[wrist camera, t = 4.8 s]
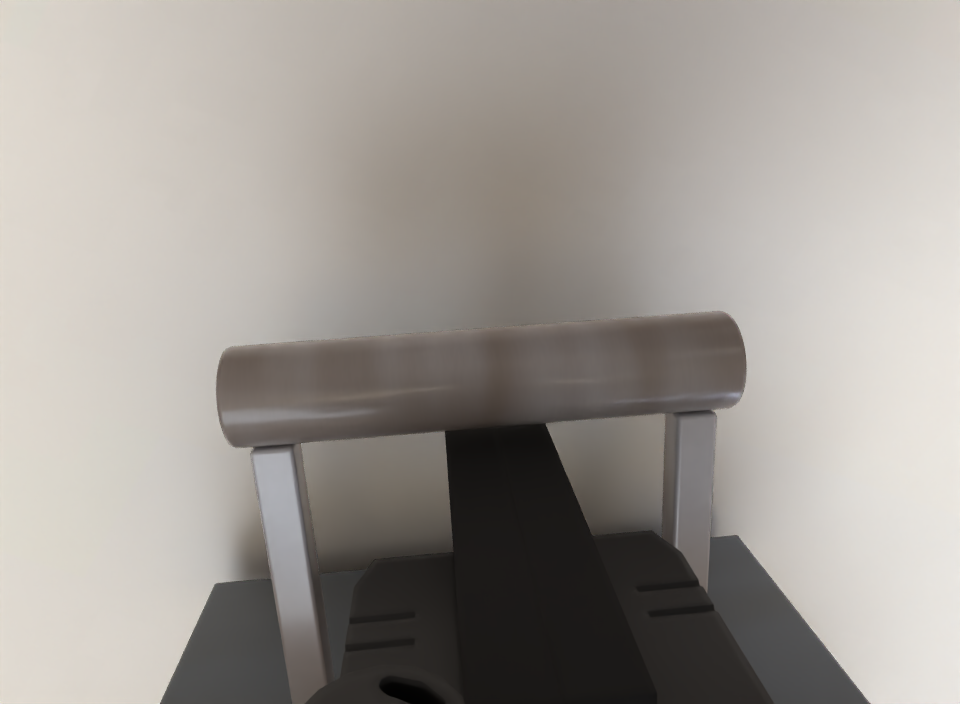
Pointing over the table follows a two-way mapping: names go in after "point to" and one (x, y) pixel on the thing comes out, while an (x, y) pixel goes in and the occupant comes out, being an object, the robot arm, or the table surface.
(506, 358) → the drawer
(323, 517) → the table surface
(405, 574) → the robot arm
